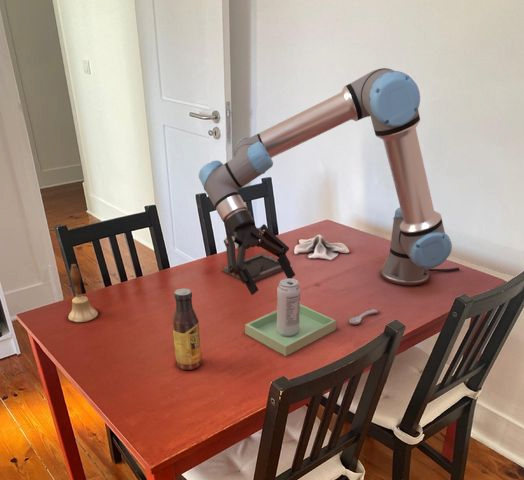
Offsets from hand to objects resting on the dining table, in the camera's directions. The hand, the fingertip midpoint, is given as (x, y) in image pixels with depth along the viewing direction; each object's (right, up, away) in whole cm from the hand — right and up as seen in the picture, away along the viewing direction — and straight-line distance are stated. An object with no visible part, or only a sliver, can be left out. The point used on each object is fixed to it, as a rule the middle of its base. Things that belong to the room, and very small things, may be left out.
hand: (274, 285), depth 141 cm
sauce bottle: (-21, -21, -9) cm, 31 cm away
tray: (+5, -12, +5) cm, 14 cm away
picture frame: (-5, +10, +40) cm, 42 cm away
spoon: (+26, -9, +11) cm, 29 cm away
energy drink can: (+4, -13, +4) cm, 14 cm away
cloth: (+17, +20, +56) cm, 62 cm away
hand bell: (-55, -8, +13) cm, 57 cm away
